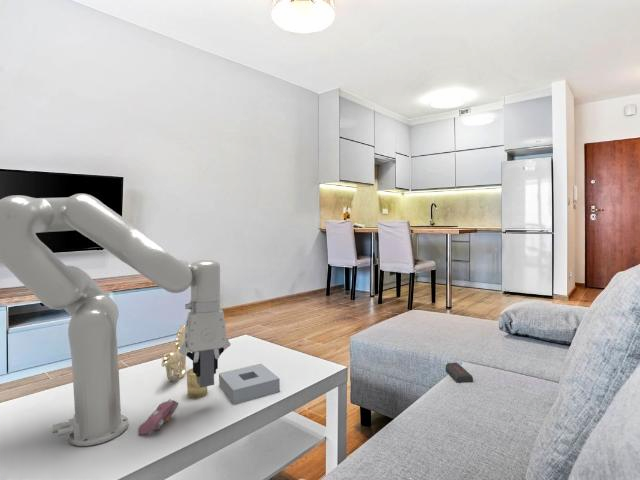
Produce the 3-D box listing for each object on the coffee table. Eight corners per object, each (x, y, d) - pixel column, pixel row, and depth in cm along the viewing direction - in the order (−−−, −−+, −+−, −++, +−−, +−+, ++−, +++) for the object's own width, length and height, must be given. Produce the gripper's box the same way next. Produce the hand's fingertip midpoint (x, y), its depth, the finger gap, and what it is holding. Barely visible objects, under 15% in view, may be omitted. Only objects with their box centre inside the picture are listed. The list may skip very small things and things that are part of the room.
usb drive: (456, 384, 114) (456, 375, 114) (442, 368, 126) (441, 360, 126) (473, 383, 114) (473, 374, 114) (457, 368, 126) (457, 360, 126)
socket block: (233, 404, 103) (233, 390, 103) (219, 385, 115) (218, 373, 115) (279, 391, 111) (279, 378, 110) (261, 375, 123) (261, 363, 122)
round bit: (189, 400, 106) (188, 376, 106) (185, 393, 111) (184, 370, 111) (209, 395, 109) (208, 372, 109) (204, 388, 114) (203, 366, 114)
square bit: (200, 387, 99) (200, 350, 98) (197, 382, 102) (197, 346, 102) (214, 384, 101) (214, 348, 100) (210, 380, 104) (210, 344, 103)
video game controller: (150, 443, 89) (161, 418, 88) (134, 433, 89) (145, 409, 88) (174, 421, 98) (184, 399, 97) (160, 412, 99) (169, 390, 98)
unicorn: (170, 392, 111) (168, 336, 111) (157, 393, 111) (155, 336, 111) (193, 366, 131) (191, 318, 131) (182, 367, 131) (180, 318, 131)
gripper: (175, 312, 93) (175, 385, 94) (239, 306, 102) (239, 372, 102) (170, 306, 100) (170, 374, 100) (231, 301, 108) (230, 363, 109)
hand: (205, 373), depth 101 cm, fingers closed on square bit, 3 cm apart
